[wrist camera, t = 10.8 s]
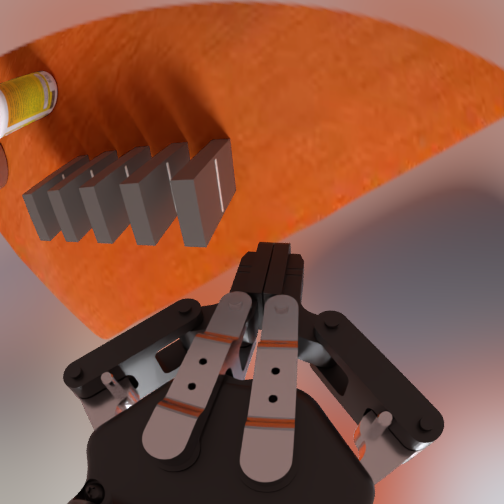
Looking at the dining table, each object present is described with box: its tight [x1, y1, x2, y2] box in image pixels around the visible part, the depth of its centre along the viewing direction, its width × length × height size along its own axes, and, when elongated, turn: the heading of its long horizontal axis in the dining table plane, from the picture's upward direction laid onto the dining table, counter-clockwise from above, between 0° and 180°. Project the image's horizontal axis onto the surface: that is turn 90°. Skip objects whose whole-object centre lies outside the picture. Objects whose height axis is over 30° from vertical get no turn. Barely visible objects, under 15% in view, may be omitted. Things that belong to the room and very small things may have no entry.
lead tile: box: [170, 139, 236, 247], centre depth 23 cm, size 2×5×9 cm, turn 7°
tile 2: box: [119, 142, 190, 246], centre depth 24 cm, size 2×5×9 cm, turn 6°
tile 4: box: [47, 150, 118, 242], centre depth 25 cm, size 2×5×9 cm, turn 6°
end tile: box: [22, 155, 89, 241], centre depth 26 cm, size 2×5×9 cm, turn 6°
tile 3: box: [79, 146, 151, 244], centre depth 25 cm, size 2×5×9 cm, turn 6°
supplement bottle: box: [0, 71, 57, 138], centre depth 20 cm, size 6×6×10 cm
